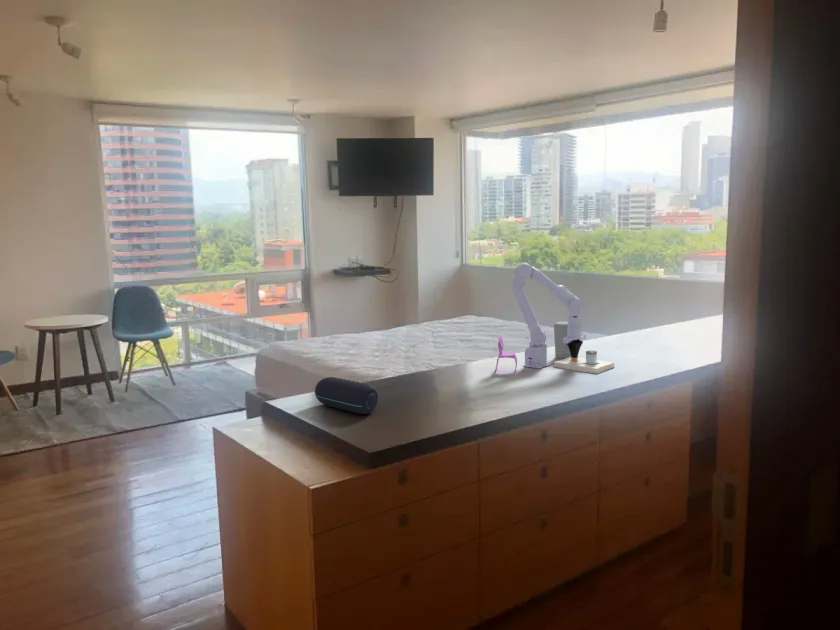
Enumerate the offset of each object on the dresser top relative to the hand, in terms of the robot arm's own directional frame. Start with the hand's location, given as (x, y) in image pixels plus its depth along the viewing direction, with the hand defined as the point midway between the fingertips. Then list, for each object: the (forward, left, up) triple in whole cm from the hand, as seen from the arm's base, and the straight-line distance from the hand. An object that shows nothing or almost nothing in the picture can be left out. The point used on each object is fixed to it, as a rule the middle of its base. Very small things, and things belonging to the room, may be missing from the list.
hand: (574, 357), depth 274 cm
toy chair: (-26, +16, -4) cm, 31 cm away
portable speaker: (-102, +25, -4) cm, 105 cm away
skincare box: (+12, +12, -4) cm, 17 cm away
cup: (0, -8, -3) cm, 9 cm away
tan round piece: (0, 0, -3) cm, 3 cm away
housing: (0, -4, -3) cm, 6 cm away
